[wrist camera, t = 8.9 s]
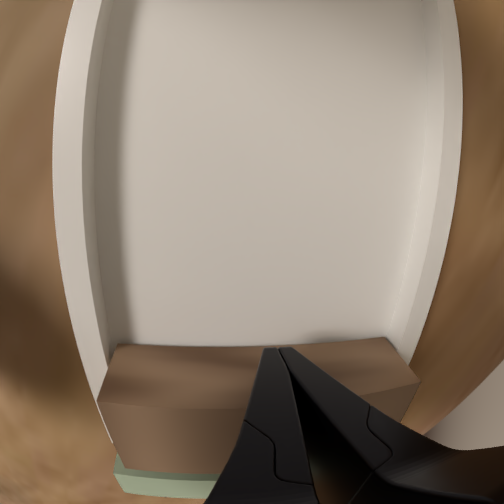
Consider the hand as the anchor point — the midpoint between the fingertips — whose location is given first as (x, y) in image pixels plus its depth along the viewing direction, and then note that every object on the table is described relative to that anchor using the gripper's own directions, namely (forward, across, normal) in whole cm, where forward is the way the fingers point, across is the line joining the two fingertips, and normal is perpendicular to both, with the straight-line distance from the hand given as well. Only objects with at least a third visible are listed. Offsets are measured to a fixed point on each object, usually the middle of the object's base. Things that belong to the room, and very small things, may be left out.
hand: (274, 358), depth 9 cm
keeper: (+2, 0, +3) cm, 3 cm away
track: (+3, 0, -4) cm, 5 cm away
